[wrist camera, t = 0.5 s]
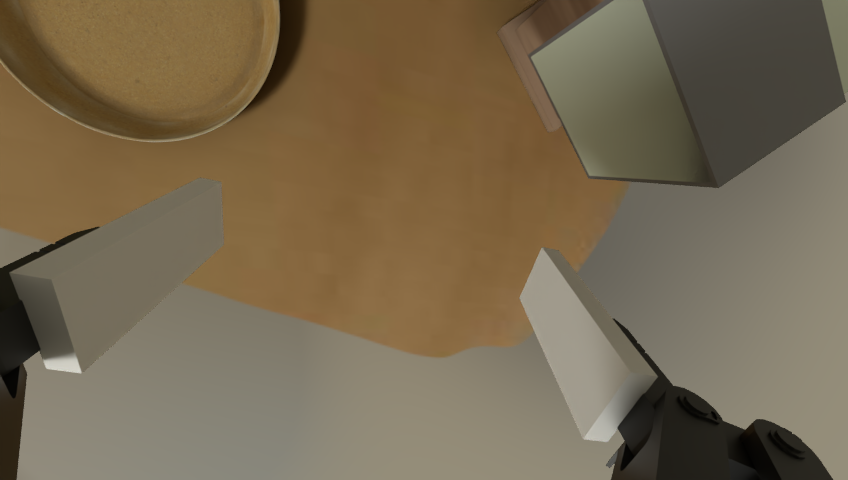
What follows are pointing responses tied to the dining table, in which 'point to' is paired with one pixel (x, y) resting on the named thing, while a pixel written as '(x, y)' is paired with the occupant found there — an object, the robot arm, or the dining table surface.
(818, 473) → the robot arm
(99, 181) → the dining table surface
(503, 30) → the stand
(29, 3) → the plant saucer
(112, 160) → the dining table surface
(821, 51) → the bar
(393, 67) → the dining table surface
